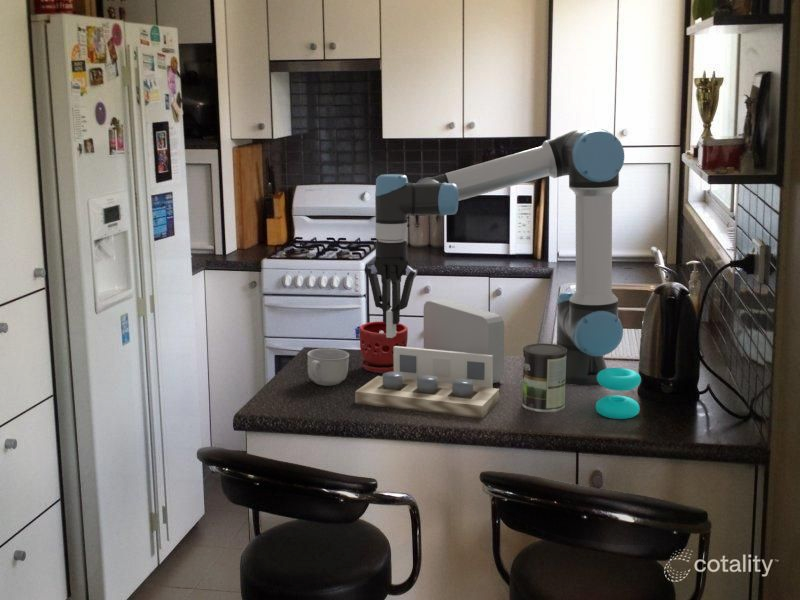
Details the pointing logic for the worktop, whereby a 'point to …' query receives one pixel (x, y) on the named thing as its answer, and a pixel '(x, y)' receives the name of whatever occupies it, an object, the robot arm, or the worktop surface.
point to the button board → (428, 398)
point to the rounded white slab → (464, 331)
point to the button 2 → (462, 388)
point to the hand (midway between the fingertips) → (391, 336)
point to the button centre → (427, 384)
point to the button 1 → (392, 380)
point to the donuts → (615, 403)
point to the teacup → (327, 366)
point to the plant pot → (380, 346)
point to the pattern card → (444, 365)
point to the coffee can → (544, 377)
